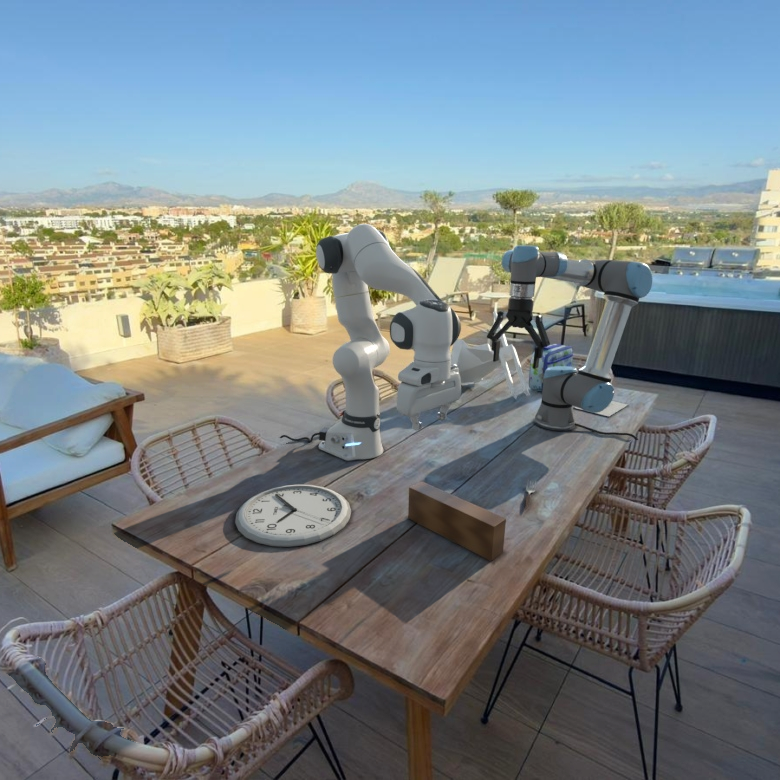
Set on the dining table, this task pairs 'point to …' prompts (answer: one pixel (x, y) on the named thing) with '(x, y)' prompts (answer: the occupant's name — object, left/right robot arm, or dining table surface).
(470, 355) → the white plastic object
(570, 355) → the lunch box
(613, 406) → the invitation card
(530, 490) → the fork
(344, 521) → the wall clock
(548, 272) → the right robot arm
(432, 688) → the dining table surface
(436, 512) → the bar
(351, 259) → the left robot arm
